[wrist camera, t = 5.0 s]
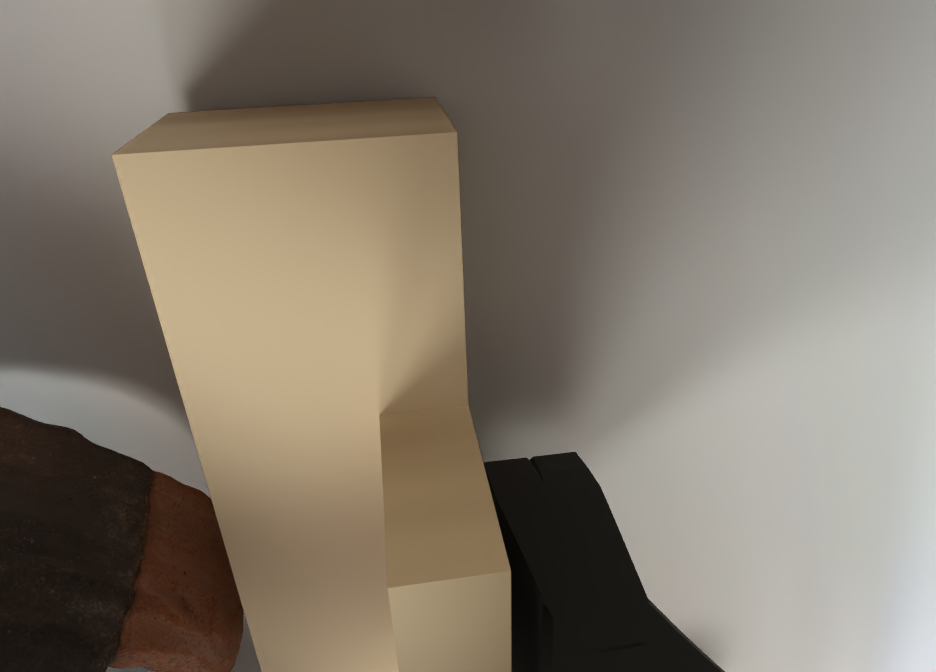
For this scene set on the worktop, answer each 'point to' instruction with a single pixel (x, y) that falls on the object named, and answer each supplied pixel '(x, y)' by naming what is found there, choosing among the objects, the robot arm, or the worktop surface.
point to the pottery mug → (107, 561)
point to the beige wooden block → (328, 376)
